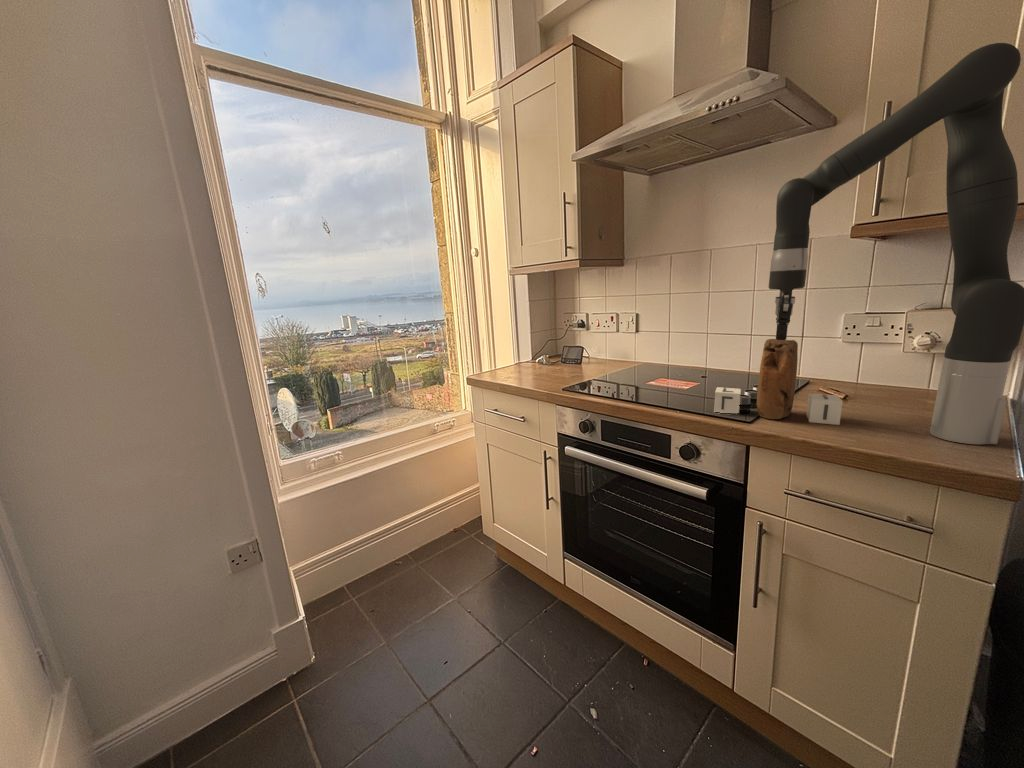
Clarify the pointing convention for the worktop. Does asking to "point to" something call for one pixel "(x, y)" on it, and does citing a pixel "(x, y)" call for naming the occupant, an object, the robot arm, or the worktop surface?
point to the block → (777, 378)
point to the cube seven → (727, 400)
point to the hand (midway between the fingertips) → (780, 339)
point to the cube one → (824, 408)
